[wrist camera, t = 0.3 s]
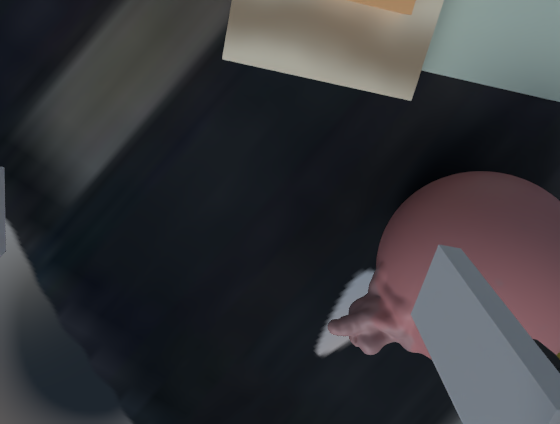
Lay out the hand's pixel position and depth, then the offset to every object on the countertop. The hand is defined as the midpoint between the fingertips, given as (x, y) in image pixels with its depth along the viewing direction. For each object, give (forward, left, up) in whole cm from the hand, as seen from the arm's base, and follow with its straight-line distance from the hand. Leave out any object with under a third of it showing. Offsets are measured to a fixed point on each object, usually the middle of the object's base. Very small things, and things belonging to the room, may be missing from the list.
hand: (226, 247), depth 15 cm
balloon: (+9, +18, -26) cm, 33 cm away
